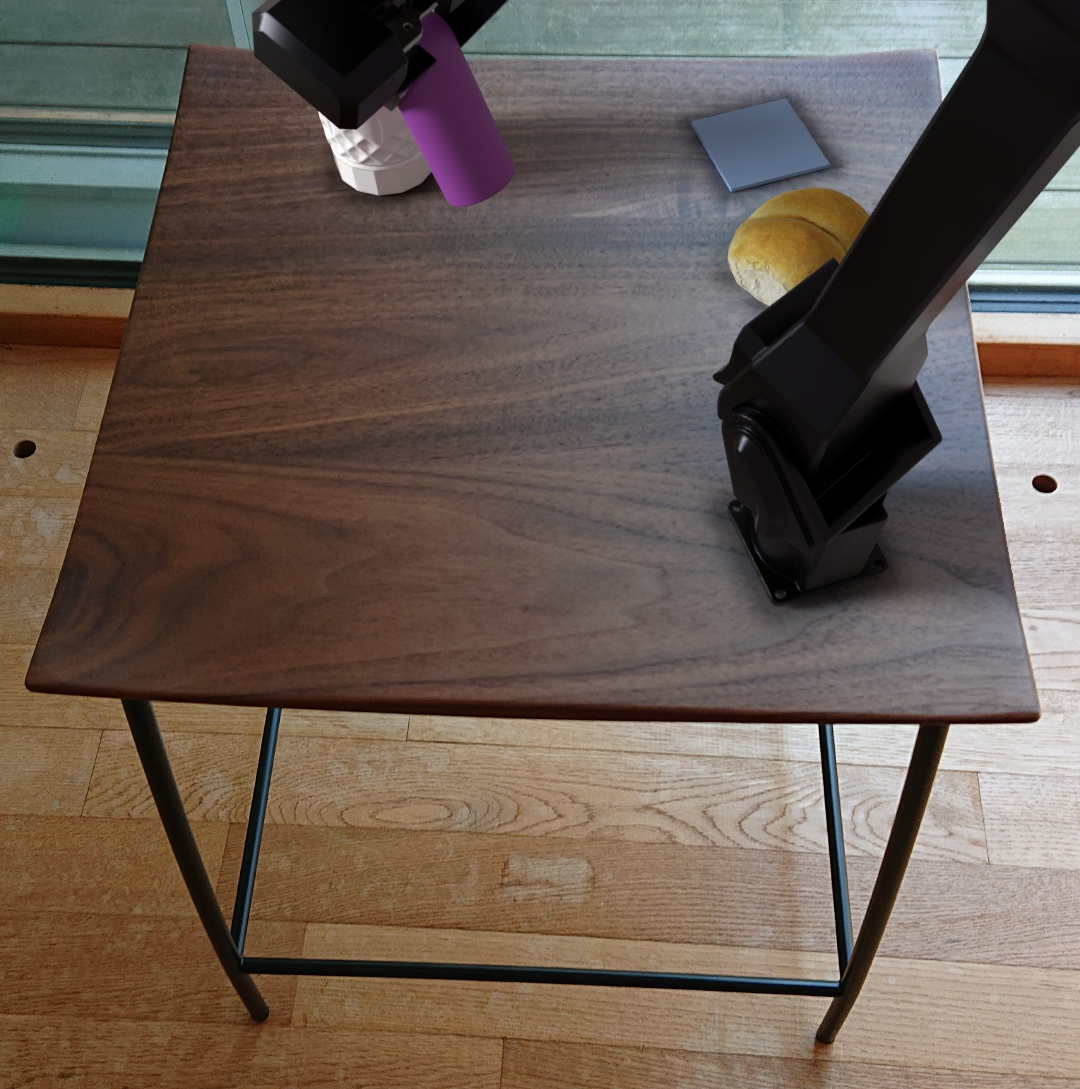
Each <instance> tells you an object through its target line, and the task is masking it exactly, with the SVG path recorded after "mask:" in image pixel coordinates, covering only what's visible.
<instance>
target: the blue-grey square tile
mask: <svg viewBox="0 0 1080 1089" xmlns="http://www.w3.org/2000/svg"><path fill="white" fill-rule="evenodd" d="M690 126H691V127H692V129H693V131H694V132H695V134H696V136H697V138H698V139H699V141H700V143H701V144H702V146H703V147H704V150H705V151H706V153H707V155H708V156H709V158H710V160H711V161H712V163H713V165H714V167H715V169H716V170H717V172H718V173H719V174H720V177H721V178H722V180H723V182H724V184H725V185H726V187H727V188H728V190H729V192H730V193H735V192H739V191H743V190H746V189H751V188H754V187H758V186H763V185H765V184H770V183H774V182H778V181H782V180H785V179H790V178H793V177H796V176H802V175H805V174H808V173H813V172H817V171H820V170H824V169H829V168H830V166H831V163H830V161H829V160H828V159H827V157H826V156H825V154H824V153H823V151H822V150H821V148H820V147H819V145H818V144H817V142H816V140H815V139H814V137H813V136H812V135H811V133H810V132H809V130H808V128H807V127H806V126H805V124H804V123H803V121H802V120H801V118H800V116H798V114H797V112H796V111H795V109H794V108H793V106H792V104H790V101H789V100H788V99H787V98H780V99H777V100H773V101H769V102H764V103H761V104H760V103H759V104H757V105H752V106H748V107H744V108H740V109H736V110H731V111H728V112H725V113H720V114H716V115H712V116H707V117H704V118H700V119H695V120H691V121H690Z"/></svg>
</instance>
